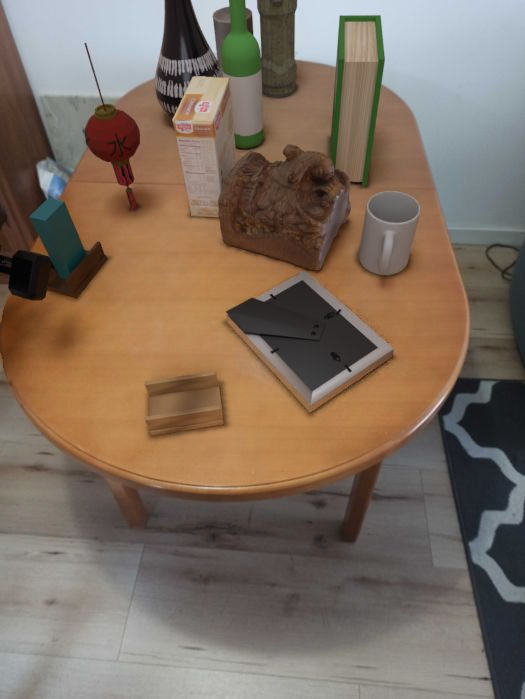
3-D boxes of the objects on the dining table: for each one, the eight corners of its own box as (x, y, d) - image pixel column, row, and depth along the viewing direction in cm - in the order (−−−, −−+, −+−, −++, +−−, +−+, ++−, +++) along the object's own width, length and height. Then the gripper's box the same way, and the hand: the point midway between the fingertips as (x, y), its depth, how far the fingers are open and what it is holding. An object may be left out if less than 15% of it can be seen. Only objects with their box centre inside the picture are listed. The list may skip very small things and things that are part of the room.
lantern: (164, 214, 98) (123, 48, 74) (116, 229, 96) (59, 62, 72) (150, 188, 103) (108, 25, 79) (105, 201, 101) (48, 38, 77)
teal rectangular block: (74, 282, 87) (45, 220, 76) (59, 277, 87) (28, 216, 77) (90, 262, 89) (64, 201, 79) (76, 258, 90) (48, 197, 80)
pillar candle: (259, 66, 134) (257, 0, 122) (249, 83, 128) (245, 16, 116) (225, 62, 136) (219, -2, 124) (213, 80, 130) (205, 14, 118)
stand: (151, 435, 69) (144, 421, 66) (150, 395, 73) (144, 380, 70) (223, 424, 70) (220, 410, 67) (219, 385, 74) (216, 369, 71)
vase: (162, 103, 124) (132, -44, 101) (226, 97, 125) (212, -50, 101) (161, 138, 115) (128, -15, 91) (230, 132, 115) (216, -22, 91)
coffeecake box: (206, 171, 106) (191, 75, 91) (239, 172, 105) (230, 76, 90) (189, 216, 97) (170, 119, 82) (225, 219, 97) (213, 120, 81)
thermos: (263, 102, 122) (255, -83, 94) (258, 79, 129) (250, -100, 102) (299, 99, 123) (302, -87, 95) (292, 76, 130) (293, -103, 102)
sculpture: (311, 279, 82) (205, 244, 87) (340, 266, 98) (249, 237, 104) (345, 156, 75) (226, 128, 81) (370, 164, 91) (270, 140, 97)
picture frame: (227, 323, 81) (310, 413, 70) (225, 311, 79) (310, 402, 68) (304, 279, 86) (391, 357, 76) (304, 267, 84) (395, 345, 73)
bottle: (241, 128, 116) (229, -29, 92) (270, 136, 113) (266, -23, 89) (222, 144, 112) (204, -15, 88) (252, 154, 109) (242, -8, 85)
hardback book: (366, 186, 101) (384, 59, 82) (329, 186, 101) (338, 59, 82) (364, 138, 111) (380, 15, 92) (330, 137, 112) (339, 15, 93)
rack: (76, 297, 86) (68, 281, 82) (44, 288, 87) (35, 272, 84) (107, 259, 91) (101, 242, 88) (76, 251, 93) (69, 234, 90)
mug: (360, 239, 91) (368, 187, 83) (409, 244, 90) (422, 192, 81) (353, 287, 84) (361, 236, 76) (406, 293, 83) (419, 242, 74)
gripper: (11, 210, 60) (91, 227, 74) (-109, 181, 64) (-11, 202, 79) (-2, 302, 61) (78, 300, 76) (-117, 268, 66) (-20, 272, 81)
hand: (31, 266), depth 78 cm, fingers open, 9 cm apart
